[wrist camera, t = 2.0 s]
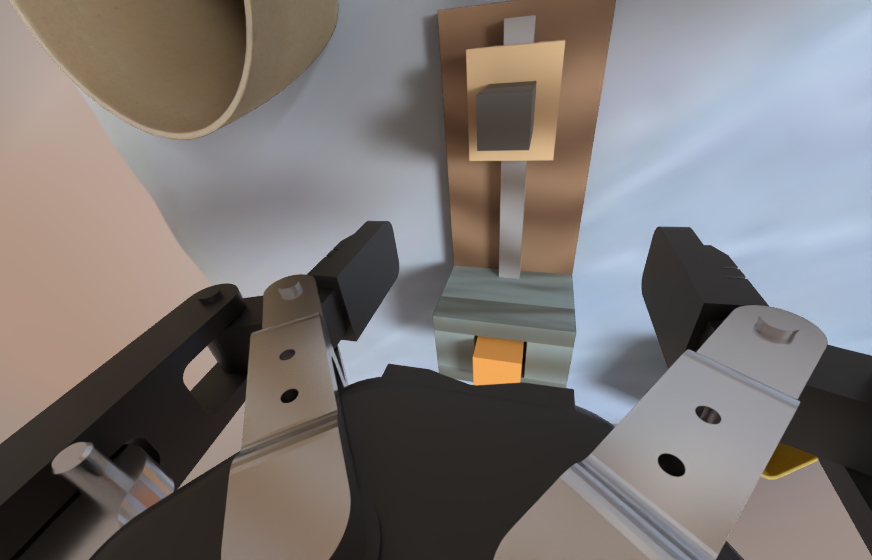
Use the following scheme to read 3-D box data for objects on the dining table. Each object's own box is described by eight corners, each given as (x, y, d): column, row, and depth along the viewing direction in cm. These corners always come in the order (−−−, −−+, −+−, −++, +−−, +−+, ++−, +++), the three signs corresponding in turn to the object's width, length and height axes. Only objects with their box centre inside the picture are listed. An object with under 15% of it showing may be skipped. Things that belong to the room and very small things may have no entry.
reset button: (478, 332, 32) (472, 356, 29) (523, 338, 31) (521, 364, 28) (479, 363, 34) (473, 388, 32) (521, 369, 33) (519, 395, 31)
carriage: (478, 47, 26) (447, 53, 18) (563, 39, 24) (567, 42, 17) (479, 145, 30) (454, 183, 22) (553, 144, 28) (552, 184, 21)
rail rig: (442, 11, 27) (396, 2, 19) (614, -11, 24) (644, -32, 16) (460, 314, 43) (439, 376, 36) (562, 325, 40) (564, 396, 32)
